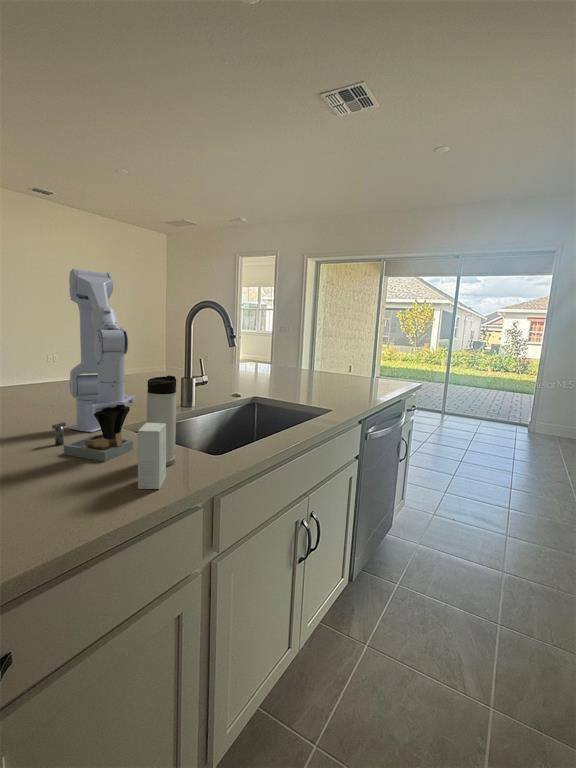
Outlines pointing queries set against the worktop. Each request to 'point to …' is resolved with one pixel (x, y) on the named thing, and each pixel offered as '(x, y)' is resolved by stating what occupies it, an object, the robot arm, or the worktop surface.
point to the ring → (103, 442)
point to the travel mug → (163, 410)
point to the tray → (104, 455)
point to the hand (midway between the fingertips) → (111, 437)
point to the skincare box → (151, 455)
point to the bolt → (59, 433)
